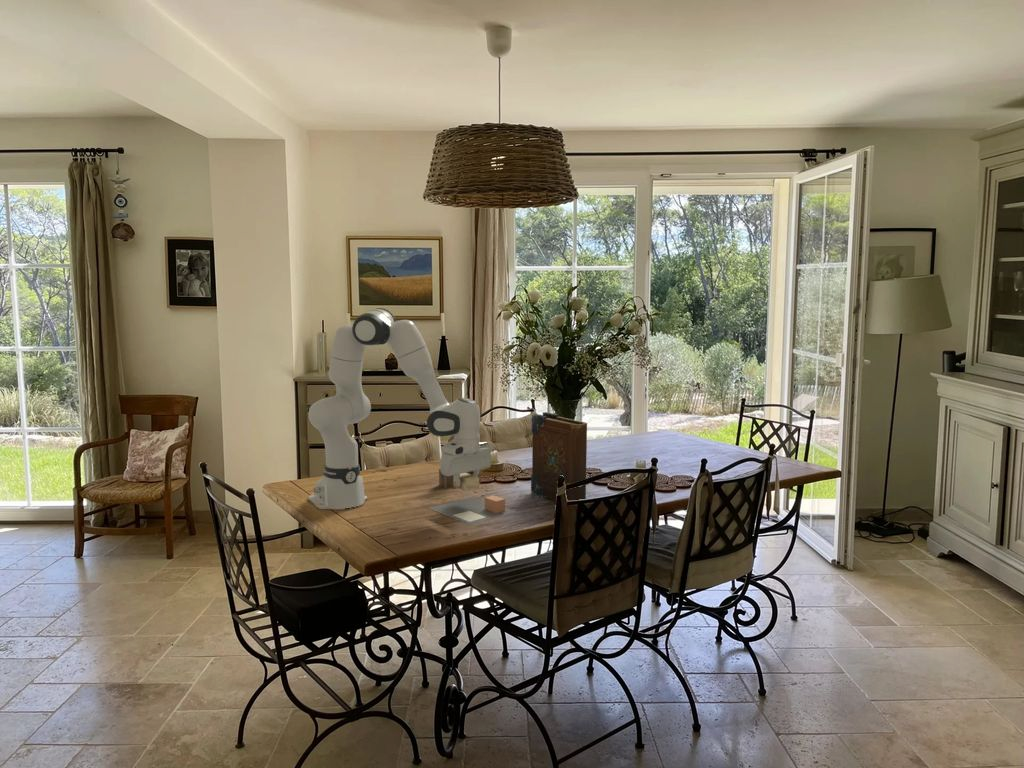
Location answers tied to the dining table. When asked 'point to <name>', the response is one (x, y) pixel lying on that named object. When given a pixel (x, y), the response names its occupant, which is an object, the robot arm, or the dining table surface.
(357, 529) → the dining table surface
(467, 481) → the brick base
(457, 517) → the build board
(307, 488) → the dining table surface
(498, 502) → the brick top
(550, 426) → the decorative book
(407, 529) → the dining table surface
